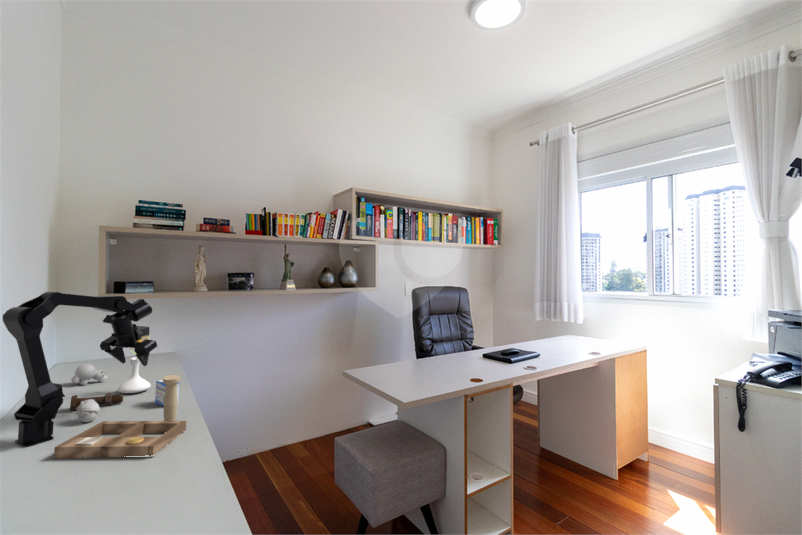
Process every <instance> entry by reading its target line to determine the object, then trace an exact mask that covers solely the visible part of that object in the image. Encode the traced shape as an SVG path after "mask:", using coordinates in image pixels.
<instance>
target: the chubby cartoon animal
mask: <svg viewBox="0 0 802 535" xmlns="http://www.w3.org/2000/svg"><path fill="white" fill-rule="evenodd" d="M107 378H109V375H108V374H106V375H105V373H104V369H101V370H97V369H96V366H94V365H92V364H90V363H89V364H88V363H85V364H81V365H80V366H78V367H76V369H75V371H74V375H73V376H72V377H71V383H73V384H80V385H81V386H87V385H86V384H88V383H89V381H90V380H91V379H93V380H94V381H98V382H99V383H103V382H104V381H106V380H107ZM102 381H103V382H102Z"/></svg>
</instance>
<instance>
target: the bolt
mask: <svg viewBox="0 0 802 535" xmlns="http://www.w3.org/2000/svg"><path fill="white" fill-rule="evenodd" d="M70 398H71V399H70V402H69V404H70V405H69V406H70V407H69V412H70V411H73V412H77V407H78V406H79V405H80V404H81V402H82V401H85V400H88V399H94V401H95V402H96V403H98V405H99V406H102V405H103V406H104V407H105V406H106V407H110V406H112V405H113V404H119V403H123V402H124V393H120V394H113V393H112V392H107V393H105V394H104V395H101V396H89V397H78V395H77V394H74V395H72V396H71V397H70Z"/></svg>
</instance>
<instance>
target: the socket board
mask: <svg viewBox="0 0 802 535" xmlns="http://www.w3.org/2000/svg"><path fill="white" fill-rule="evenodd" d="M185 430H186V431H187V420H176V421H164V420H115V421H114V420H110V421H109V420H107V421H106V420H103V421H101V422H99V423H97V424H95V425H93V426H92V427H89V428H87V429H86V430H84V431H83V432H81V433H78V434H76V435H73V437H71V438H69V439H67V440H65V441H63V442H61V443H59V444H58V445H56V446H54V450H53V452H54V453H53V459H55V458H56V459H57V460H58V458H59V459H80V458H79V457H124V456H125V457H126V456H145V455H149V456H151V455H154V454H156V453H157V452H158V451H160V450H161V449H162V448H164V447H165V446H166V445H167V444H169V443H170V442H171V441H172V440H173V439H175V438H176V437H177V436H178V435H180V434H181V433H182V432H183V431H185ZM186 431H185V432H186ZM145 432H146V433H145ZM161 432H162V433H161ZM163 432H166V433H163ZM143 433H144V434H162V435H161V436H142V435H143ZM183 433H184V432H183ZM183 433H182V434H183ZM103 434H118V435H117V436H108V437H107V436H105V437H104V436H103V437H102V436H101V435H103ZM141 434H142V435H141ZM182 434H181V435H182ZM140 435H141V436H140ZM181 435H180V436H181ZM100 436H101V437H100ZM138 436H139V437H138ZM177 438H178V437H177ZM177 438H176V439H177ZM176 439H175V440H176ZM172 442H173V441H172ZM172 442H171V443H172ZM171 443H170V444H171ZM170 444H169V445H170ZM166 447H167V446H166ZM166 447H165V448H166ZM165 448H164V449H165ZM160 452H161V451H160Z"/></svg>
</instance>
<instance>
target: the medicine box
mask: <svg viewBox="0 0 802 535" xmlns="http://www.w3.org/2000/svg"><path fill="white" fill-rule="evenodd" d="M165 389H166V384H164V383H163V379H159V380H156V382H155V395H154V404H155V405H158V404H159V405H158V406H162V407H164V399H165ZM179 390H180V382H178V383H177V405H179V395H180V394H179V392H180V391H179Z"/></svg>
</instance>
